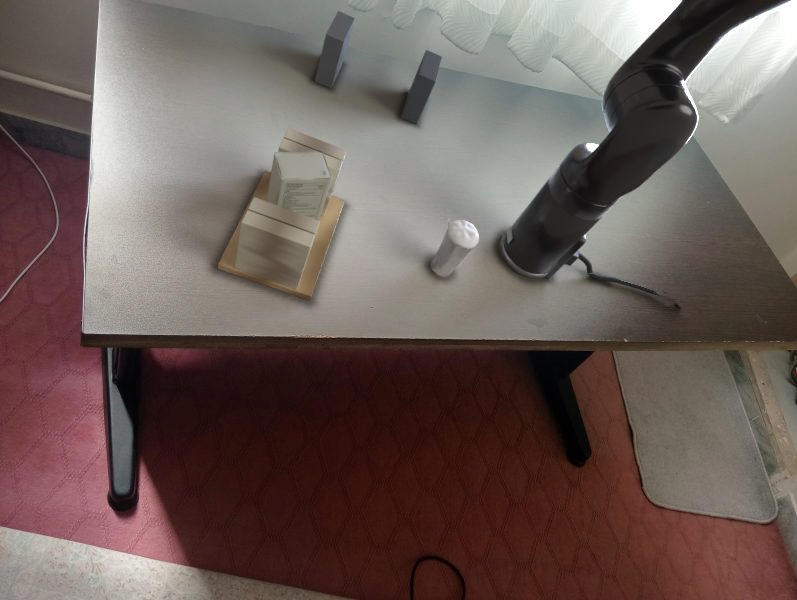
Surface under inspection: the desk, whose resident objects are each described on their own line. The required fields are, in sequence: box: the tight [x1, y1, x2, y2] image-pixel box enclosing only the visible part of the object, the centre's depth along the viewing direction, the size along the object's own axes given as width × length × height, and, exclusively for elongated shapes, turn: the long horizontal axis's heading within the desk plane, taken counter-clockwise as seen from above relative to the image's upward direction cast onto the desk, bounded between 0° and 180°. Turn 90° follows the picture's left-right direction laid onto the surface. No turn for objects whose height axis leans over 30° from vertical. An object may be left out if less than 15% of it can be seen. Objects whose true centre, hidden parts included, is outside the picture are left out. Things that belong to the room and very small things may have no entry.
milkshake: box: [430, 218, 480, 278], centre depth 75 cm, size 5×5×10 cm
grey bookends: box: [314, 10, 443, 125], centre depth 93 cm, size 19×8×9 cm, turn 79°
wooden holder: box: [217, 127, 348, 301], centre depth 69 cm, size 12×18×10 cm, turn 169°
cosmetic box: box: [266, 151, 332, 221], centre depth 68 cm, size 6×4×12 cm
